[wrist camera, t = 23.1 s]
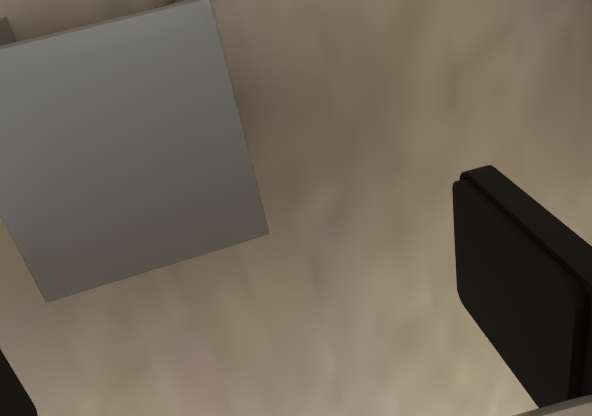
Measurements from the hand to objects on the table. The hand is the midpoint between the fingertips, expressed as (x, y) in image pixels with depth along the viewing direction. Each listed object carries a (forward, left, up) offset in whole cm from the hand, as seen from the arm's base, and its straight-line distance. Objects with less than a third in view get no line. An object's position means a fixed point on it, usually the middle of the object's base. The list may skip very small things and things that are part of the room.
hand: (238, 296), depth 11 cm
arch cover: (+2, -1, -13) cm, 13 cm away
